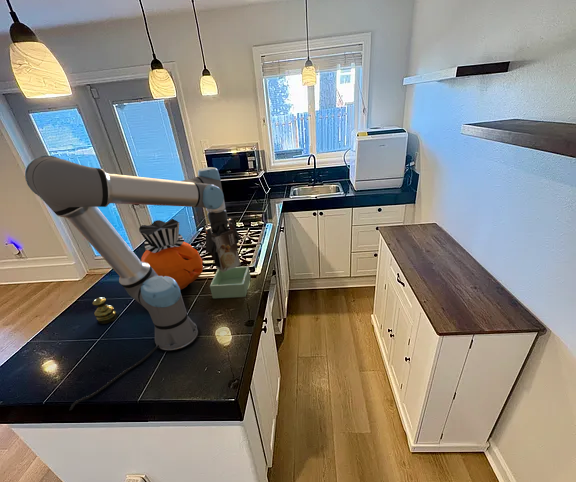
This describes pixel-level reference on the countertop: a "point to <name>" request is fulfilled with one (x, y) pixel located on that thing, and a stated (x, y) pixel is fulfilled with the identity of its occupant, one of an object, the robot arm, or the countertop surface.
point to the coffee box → (226, 250)
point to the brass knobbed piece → (104, 311)
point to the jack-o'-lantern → (170, 252)
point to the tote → (231, 283)
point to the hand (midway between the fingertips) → (227, 261)
